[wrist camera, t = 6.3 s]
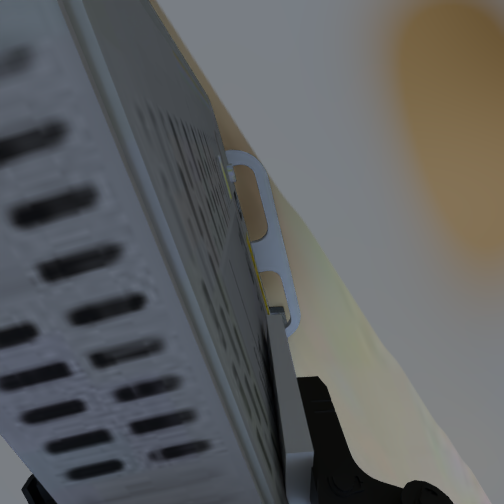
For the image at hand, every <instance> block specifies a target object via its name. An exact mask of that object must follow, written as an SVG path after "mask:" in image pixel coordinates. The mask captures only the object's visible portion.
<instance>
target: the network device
mask: <svg viewBox="0 0 504 504" xmlns="http://www.w3.org/2000/svg"><path fill="white" fill-rule="evenodd" d="M235 165H246V166H248V167H250V168H251V169H252V170H253V172H254V174H255V176H256V180H257V184H258V188H259V192H260V196H261V200H262V204H263V208H264V212H265V216H266V220H267V224H268V230H267V232H266V234H265V235H264V236H263V237H262V238H261V239H259V240H255V241H251V242H250V239H249V235H248V232H247V228H246V224H245V221H244V217H243V214H242V210H241V207H240V203H239V200H238V196H237V193H236V189H235V185H234V182H236V177H235V173H234V169H233V166H235ZM264 271H274V272H276V273H278V274H279V275H280V277H281V279H282V283H283V287H284V291H285V295H286V299H287V303H288V307H289V311H290V320H289V322H288V323H287V324H286V325H284V327H285V332H286V336H287V337H289V336H290V335H291V334H293V333H294V332H295V330H296V329H297V328H298V325H299V323H300V317H301V316H300V309H299V305H298V301H297V297H296V293H295V288H294V284H293V280H292V276H291V272H290V267H289V263H288V259H287V255H286V251H285V246H284V242H283V238H282V234H281V229H280V225H279V221H278V217H277V213H276V208H275V204H274V200H273V196H272V192H271V187H270V183H269V179H268V176H267V173H266V170H265V169H264V167H263V165H262V164H261V163H260V162H259V161H258V160H257V159H256V158H255V157H254V156H252V155H251V154H249V153H247V152H243V151H240V150H228V151H225V150H224V146H223V143H222V139H221V136H220V132H219V129H218V125H217V122H216V118H215V115H214V112H213V109H212V106H211V103H210V100H209V98H208V96H207V94H206V93H205V91H204V89H203V88H202V86H201V84H200V83H199V81H198V80H197V78H196V76H195V75H194V73H193V72H192V70H191V68H190V67H189V65H188V63H187V62H186V60H185V59H184V57H183V55H182V54H181V52H180V51H179V49H178V47H177V46H176V44H175V42H174V41H173V39H172V38H171V36H170V34H169V33H168V31H167V30H166V28H165V26H164V25H163V23H162V21H161V20H160V18H159V17H158V15H157V13H156V12H155V10H154V8H153V7H152V5H151V4H150V2H149V0H0V435H1V436H2V437H3V438H4V439H5V441H6V442H7V443H8V444H9V445H10V447H11V448H12V449H13V450H14V451H15V453H16V454H17V455H18V456H19V457H20V459H21V460H22V461H23V462H24V463H25V465H26V466H27V467H28V468H29V469H30V471H31V472H32V473H33V474H34V476H35V477H36V478H37V479H38V481H39V482H40V483H41V484H42V485H43V487H44V488H45V489H46V490H47V491H48V493H49V494H50V495H51V496H52V497H53V499H54V500H55V501H56V502H57V504H289V503H288V500H287V497H286V493H285V485H284V477H283V469H282V461H281V452H280V444H279V436H278V428H277V420H276V412H275V404H274V396H273V388H272V380H271V372H270V364H269V355H268V347H267V323H266V315H271V313H270V310H269V306H268V303H267V299H266V295H265V292H264V288H263V285H262V281H261V278H260V274H259V273H260V272H264Z"/></svg>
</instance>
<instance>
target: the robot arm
mask: <svg viewBox="0 0 504 504" xmlns="http://www.w3.org/2000/svg"><path fill="white" fill-rule="evenodd" d="M266 323H267V347H268V355H269V364H270V372H271V380H272V388H273V396H274V404H275V412H276V420H277V428H278V436H279V444H280V452H281V461H282V469H283V477H284V485H285V493H286V497H287V500H288V503H289V504H453V502H452V501H451V500H450V498H449V497H448V496H447V495H446V494H444V493H443V492H442V491H441V490H440V489H438V488H437V487H435V486H433V485H431V484H429V483H427V482H425V481H417V480H414V481H411V482H409V483H407V484H406V485H405V487H404V488H400V487H397V486H394V485H390V484H387V483H384V482H381V481H378V480H376V479H373V478H372V477H370V476H369V475H367V474H366V473H365V472H363V471H362V470H361V469H360V468H359V467H358V465H357V464H356V463H355V461H354V460H353V458H352V456H351V453H350V451H349V448H348V445H347V442H346V440H345V437H344V434H343V431H342V428H341V426H340V423H339V420H338V417H337V414H336V412H335V409H334V406H333V403H332V402H331V397H330V395H329V392H328V389H327V386H326V385H325V384H324V383H323V382H322V381H321V380H320V378H319V377H318V376H315V377H298V378H296V374H295V370H294V366H293V361H292V357H291V353H290V349H289V344H288V340H287V336H286V332H285V327H284V323H283V319H282V315H281V314H276V315H266ZM22 492H23V494H24V496H25V498H26V499H27V501H28V503H29V504H57V502H56V501H55V500H54V499H53V497H52V496H51V495H50V494H49V493H48V491H47V490H46V489H45V488H44V487H43V485H42V484H41V483H40V482H39V481H38V479H37V478H36V477H35V476H34V474H32V475H31V476H30V477H29V478H28V480H27V482H26V483H25V485H24V486H23V488H22Z"/></svg>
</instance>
